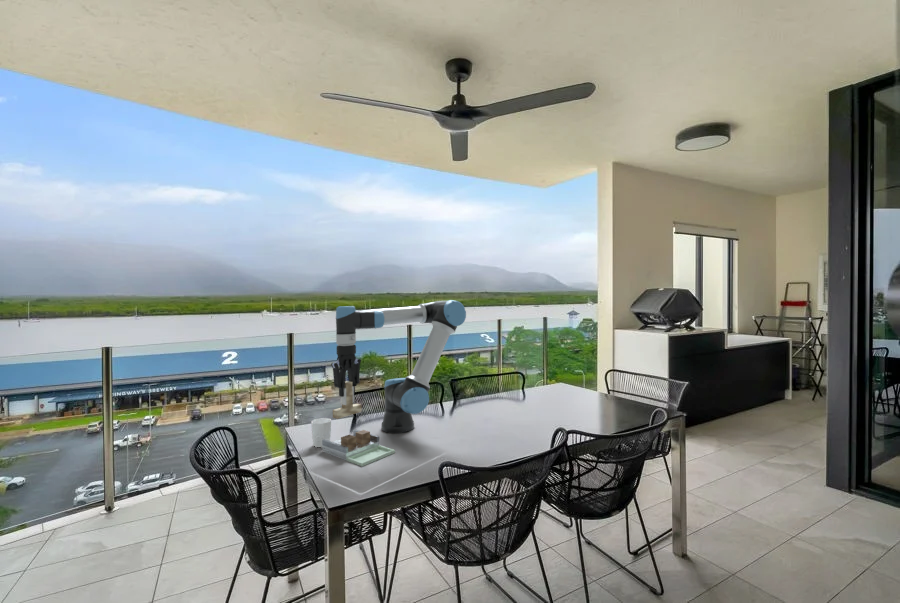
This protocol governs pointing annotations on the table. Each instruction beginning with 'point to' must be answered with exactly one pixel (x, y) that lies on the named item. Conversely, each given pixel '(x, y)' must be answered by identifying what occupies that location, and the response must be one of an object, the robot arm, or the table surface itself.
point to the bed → (342, 451)
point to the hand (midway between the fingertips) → (347, 403)
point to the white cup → (321, 431)
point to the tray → (370, 455)
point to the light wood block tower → (348, 408)
